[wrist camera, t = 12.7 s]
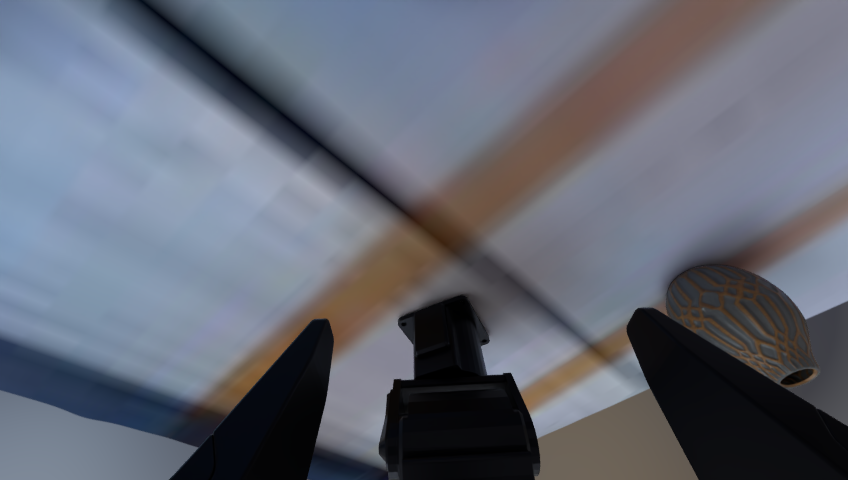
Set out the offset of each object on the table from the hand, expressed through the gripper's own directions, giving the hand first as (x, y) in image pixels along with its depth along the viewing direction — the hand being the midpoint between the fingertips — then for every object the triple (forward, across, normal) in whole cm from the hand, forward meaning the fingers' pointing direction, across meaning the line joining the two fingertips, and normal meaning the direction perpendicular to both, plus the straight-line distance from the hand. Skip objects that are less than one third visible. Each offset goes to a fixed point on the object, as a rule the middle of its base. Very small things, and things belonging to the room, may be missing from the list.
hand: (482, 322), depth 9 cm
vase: (+13, -22, +11) cm, 28 cm away
